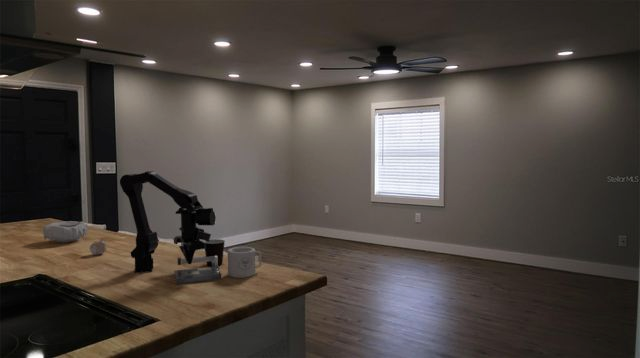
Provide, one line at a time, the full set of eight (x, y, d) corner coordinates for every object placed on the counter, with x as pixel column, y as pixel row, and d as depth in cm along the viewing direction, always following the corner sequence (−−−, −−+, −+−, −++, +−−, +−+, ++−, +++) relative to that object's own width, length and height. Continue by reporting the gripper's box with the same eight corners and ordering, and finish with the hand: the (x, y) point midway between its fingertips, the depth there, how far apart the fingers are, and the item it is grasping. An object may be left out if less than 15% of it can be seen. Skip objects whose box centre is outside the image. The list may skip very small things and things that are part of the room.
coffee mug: (219, 267, 183) (219, 243, 182) (200, 266, 185) (200, 243, 184) (230, 260, 194) (230, 238, 194) (212, 259, 196) (212, 237, 195)
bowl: (76, 236, 248) (76, 218, 247) (95, 240, 236) (94, 222, 235) (36, 242, 231) (35, 223, 230) (54, 247, 219) (53, 227, 218)
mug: (232, 279, 166) (231, 253, 165) (224, 272, 176) (224, 248, 175) (266, 275, 172) (265, 250, 172) (256, 268, 182) (256, 244, 181)
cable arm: (178, 271, 174) (177, 259, 174) (177, 270, 177) (177, 257, 176) (218, 268, 179) (218, 255, 179) (217, 266, 182) (217, 254, 182)
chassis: (177, 284, 160) (176, 278, 160) (174, 275, 171) (174, 270, 171) (221, 279, 167) (221, 273, 166) (216, 271, 178) (215, 265, 177)
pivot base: (210, 271, 178) (210, 270, 178) (209, 268, 181) (209, 267, 181) (220, 270, 179) (220, 269, 179) (218, 267, 183) (218, 266, 183)
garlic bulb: (92, 257, 201) (91, 239, 200) (88, 254, 205) (88, 237, 205) (108, 254, 205) (107, 237, 204) (104, 252, 210) (103, 235, 209)
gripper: (217, 225, 171) (218, 265, 172) (199, 220, 186) (200, 256, 187) (189, 228, 164) (190, 270, 165) (172, 222, 179) (173, 260, 180)
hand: (189, 264), depth 175 cm, fingers closed
